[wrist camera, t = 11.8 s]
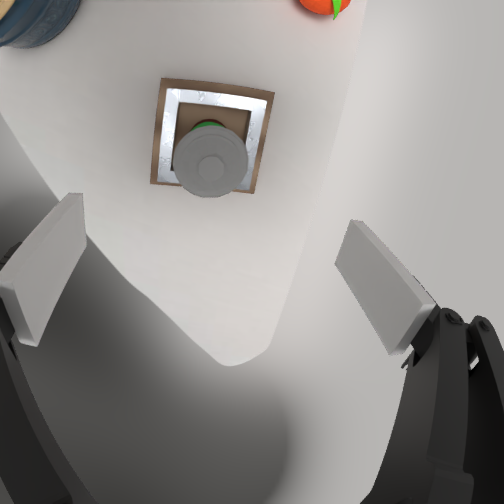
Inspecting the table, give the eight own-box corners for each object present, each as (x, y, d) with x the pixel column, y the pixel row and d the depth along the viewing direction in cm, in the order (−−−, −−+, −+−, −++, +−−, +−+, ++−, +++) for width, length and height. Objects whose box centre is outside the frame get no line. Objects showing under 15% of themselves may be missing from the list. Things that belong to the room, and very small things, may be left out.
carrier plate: (163, 78, 31) (161, 78, 30) (272, 92, 34) (274, 92, 33) (152, 180, 38) (150, 183, 37) (252, 190, 41) (254, 193, 40)
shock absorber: (205, 170, 37) (206, 221, 24) (172, 134, 34) (153, 166, 21) (244, 139, 36) (268, 174, 23) (213, 101, 32) (218, 112, 20)
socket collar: (170, 88, 30) (167, 88, 28) (263, 99, 33) (267, 100, 31) (160, 175, 36) (157, 181, 34) (246, 184, 39) (249, 190, 37)
